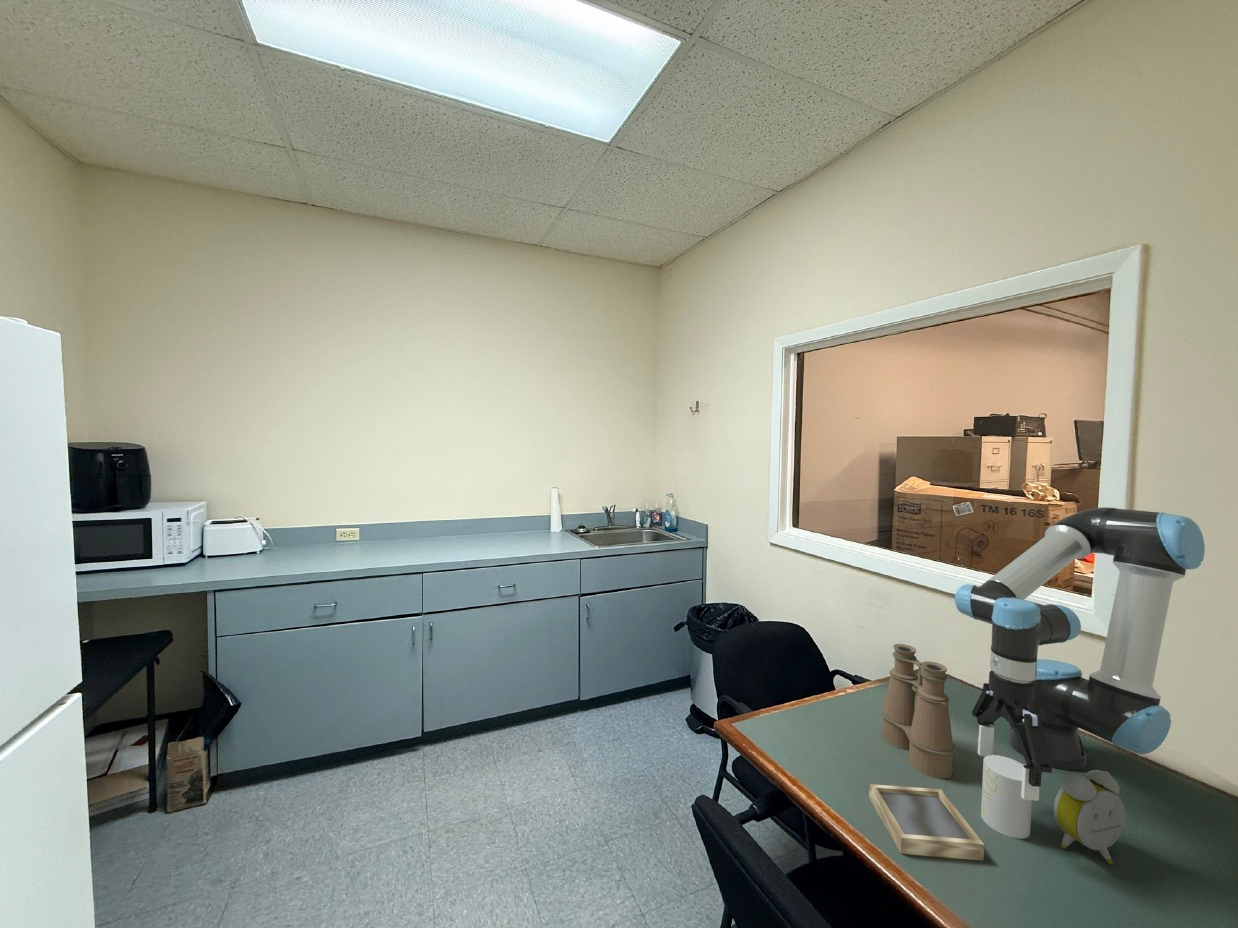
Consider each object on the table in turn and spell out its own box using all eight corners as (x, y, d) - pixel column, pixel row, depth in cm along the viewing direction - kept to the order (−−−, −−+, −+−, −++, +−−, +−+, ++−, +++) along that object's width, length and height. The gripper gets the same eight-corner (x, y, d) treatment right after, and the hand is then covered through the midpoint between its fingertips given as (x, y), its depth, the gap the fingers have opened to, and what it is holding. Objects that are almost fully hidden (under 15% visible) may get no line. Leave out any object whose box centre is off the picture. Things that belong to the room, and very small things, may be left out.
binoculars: (964, 778, 118) (969, 674, 117) (925, 780, 117) (929, 676, 116) (906, 727, 138) (909, 639, 137) (872, 729, 137) (875, 640, 136)
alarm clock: (1093, 832, 102) (1098, 761, 101) (1135, 860, 95) (1140, 784, 94) (1049, 842, 99) (1053, 769, 98) (1089, 871, 92) (1093, 793, 92)
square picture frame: (940, 803, 109) (940, 789, 109) (983, 860, 95) (984, 844, 94) (869, 797, 111) (869, 783, 111) (900, 853, 96) (901, 837, 96)
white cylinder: (980, 802, 110) (983, 750, 109) (1028, 819, 105) (1031, 764, 104) (981, 825, 103) (983, 769, 102) (1031, 844, 98) (1034, 786, 98)
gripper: (957, 649, 115) (952, 738, 116) (1037, 705, 90) (1030, 818, 91) (992, 651, 115) (986, 741, 115) (1082, 708, 90) (1074, 822, 91)
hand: (1005, 775), depth 103 cm, fingers open, 13 cm apart
